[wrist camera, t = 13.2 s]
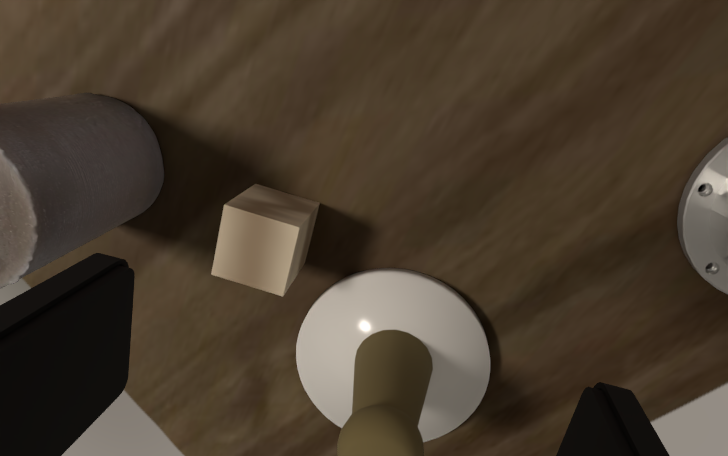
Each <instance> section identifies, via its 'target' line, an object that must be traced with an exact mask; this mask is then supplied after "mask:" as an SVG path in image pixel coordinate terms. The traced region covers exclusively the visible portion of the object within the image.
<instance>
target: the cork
mask: <svg viewBox="0 0 728 456" xmlns="http://www.w3.org/2000/svg"><path fill="white" fill-rule="evenodd" d="M432 370H433V364H432V357H431V355H430V353H429V351H428V348H427V347H426V346H425V345H424V344H423V343H422V342H421V341H420V340H419V339H418V338H417V337H415V336H413V335H411V334H410V333H408V332H404V331H400V330H382V331H379V332H376V333H373V334H371V335H370V336H369V337H367V338H366V339H365V340H363V341H362V343H361V344H360V346H359V348H358V349H357V352H356V357H355V364H354V384H353V403H352V415H351V416H350V417H349V419H348V420H347V422H346V423H345V425H344V426H343V427H342V429H341V432H340V435H339V440H338V444H337V454H338V456H424V447H423V439H422V436H421V433H420V431H419V429H418V424H419V420H420V416H421V412H422V409H423V405H424V401H425V397H426V393H427V390H428V386H429V382H430V378H431V374H432Z"/></svg>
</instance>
